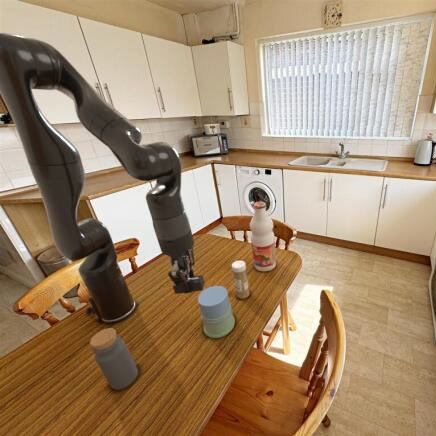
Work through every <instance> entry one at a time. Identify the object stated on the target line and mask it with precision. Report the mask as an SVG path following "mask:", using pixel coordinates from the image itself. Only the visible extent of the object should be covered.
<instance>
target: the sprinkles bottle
mask: <svg viewBox="0 0 436 436" xmlns="http://www.w3.org/2000/svg"><path fill="white" fill-rule="evenodd" d="M246 269H247V266H246V262H245V261H244V260H235V261H234V262H232V263H231V270H232V273H233V280H234V281H233V282H234V285H235V290H236V297H237V298H238V299H241V300H244V299H246V298H248V297H249V296H250V290H249V282H248V276H247V270H246Z"/></svg>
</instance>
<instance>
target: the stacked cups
mask: <svg viewBox="0 0 436 436" xmlns="http://www.w3.org/2000/svg"><path fill="white" fill-rule="evenodd" d="M197 302H198V305H199V309H200V318H201V321H202V323H203V332H204V334H205V335H206V336H207V337H209V338H211V339H220V338H223V337H225V336H227V335H228V334H229V333H230V332H232V330H233V329H234V327H235V323H236V320H235V316H234V315H233V307H232V305H231V302H230V297H229V293H228V290H227V288H226V287H225V286H222V285H211V286H209V287H207V288H205V289H203V290H201V292H200V293H199V295H198V296H197Z"/></svg>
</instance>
